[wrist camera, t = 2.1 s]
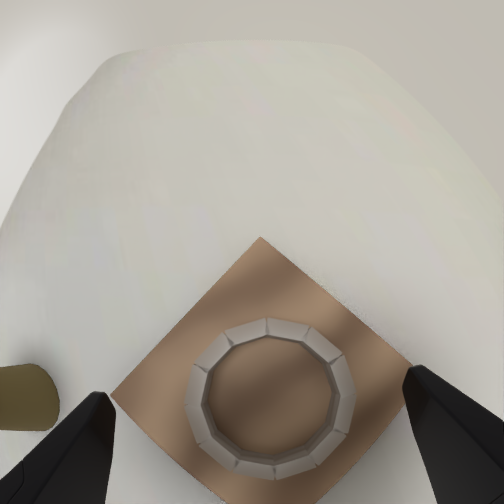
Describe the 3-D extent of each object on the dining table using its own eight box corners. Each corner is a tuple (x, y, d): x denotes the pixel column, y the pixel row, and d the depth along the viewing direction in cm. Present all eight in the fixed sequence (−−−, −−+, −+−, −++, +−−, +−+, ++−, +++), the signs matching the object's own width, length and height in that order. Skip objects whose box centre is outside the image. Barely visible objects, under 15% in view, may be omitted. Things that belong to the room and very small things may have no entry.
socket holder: (418, 375, 20) (441, 375, 17) (276, 529, 17) (278, 551, 13) (260, 241, 24) (260, 221, 21) (115, 394, 20) (93, 397, 17)
